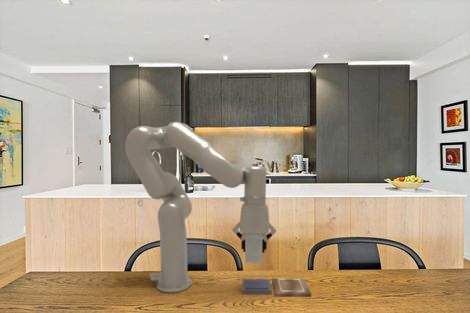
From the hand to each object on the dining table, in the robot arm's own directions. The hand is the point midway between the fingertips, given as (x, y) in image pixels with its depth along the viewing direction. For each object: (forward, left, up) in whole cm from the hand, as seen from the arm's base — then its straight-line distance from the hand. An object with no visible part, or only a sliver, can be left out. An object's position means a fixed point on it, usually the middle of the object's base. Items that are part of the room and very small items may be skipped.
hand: (253, 250), depth 111 cm
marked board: (+13, 0, -13) cm, 19 cm away
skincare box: (0, 0, -4) cm, 4 cm away
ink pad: (+1, 0, -13) cm, 13 cm away
